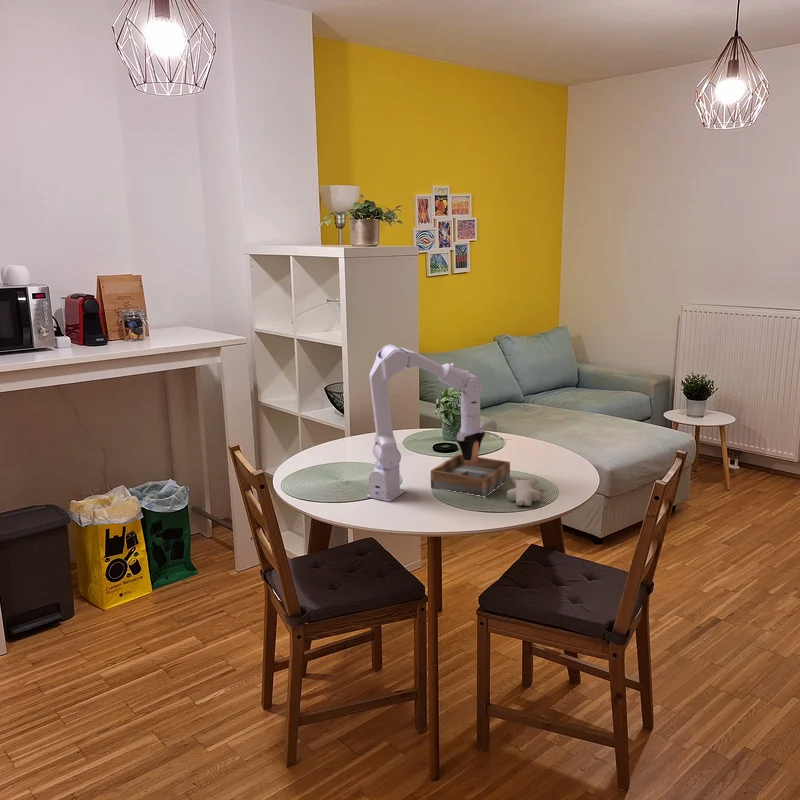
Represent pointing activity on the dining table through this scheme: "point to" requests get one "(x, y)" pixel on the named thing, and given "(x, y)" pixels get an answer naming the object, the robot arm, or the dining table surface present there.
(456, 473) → the tray
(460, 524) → the dining table surface
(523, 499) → the white soft plush figure
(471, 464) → the peg
